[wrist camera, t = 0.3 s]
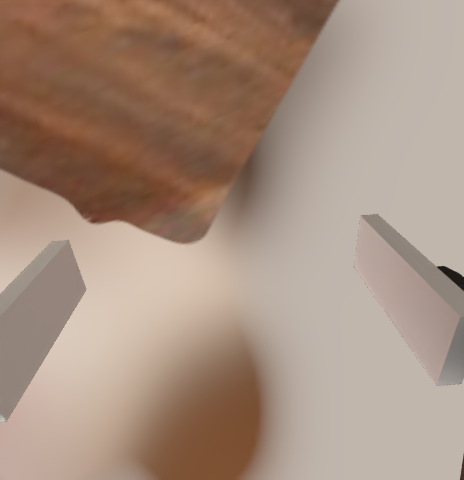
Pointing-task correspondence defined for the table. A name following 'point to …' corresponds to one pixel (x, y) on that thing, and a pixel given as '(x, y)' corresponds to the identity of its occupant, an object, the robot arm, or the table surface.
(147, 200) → the table surface
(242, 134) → the table surface
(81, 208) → the table surface
